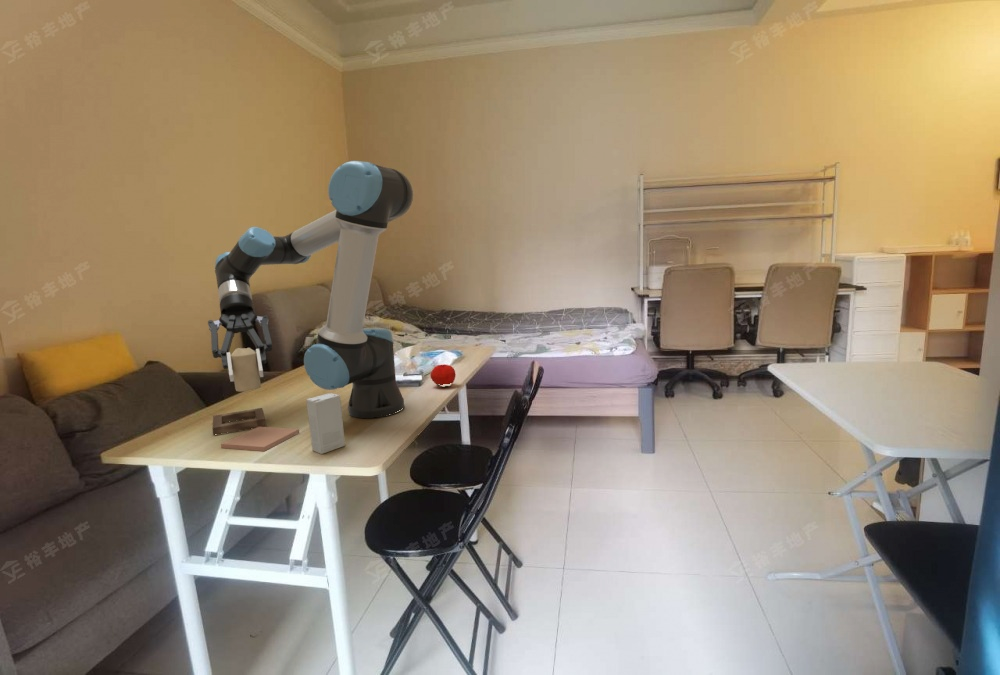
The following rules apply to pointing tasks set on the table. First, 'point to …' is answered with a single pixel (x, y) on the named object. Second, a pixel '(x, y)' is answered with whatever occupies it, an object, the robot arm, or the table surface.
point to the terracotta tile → (260, 438)
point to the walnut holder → (240, 425)
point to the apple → (443, 374)
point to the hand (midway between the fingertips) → (246, 375)
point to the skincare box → (325, 422)
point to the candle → (245, 369)
